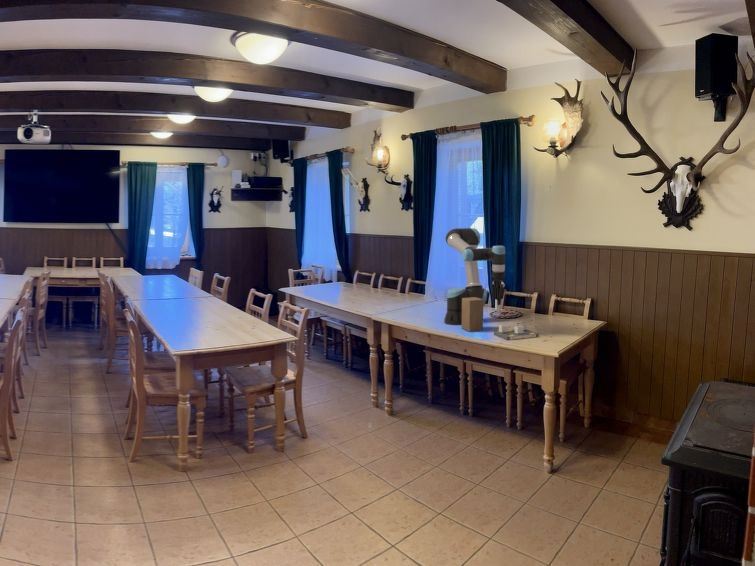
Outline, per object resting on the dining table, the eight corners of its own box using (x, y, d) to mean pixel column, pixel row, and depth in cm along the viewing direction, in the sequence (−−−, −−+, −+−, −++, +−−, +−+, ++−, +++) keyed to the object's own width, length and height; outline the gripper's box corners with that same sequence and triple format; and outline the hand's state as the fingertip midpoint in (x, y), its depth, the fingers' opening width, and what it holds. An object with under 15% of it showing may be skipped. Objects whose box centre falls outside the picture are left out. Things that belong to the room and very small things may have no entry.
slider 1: (498, 331, 310) (499, 324, 309) (504, 330, 311) (504, 324, 310) (501, 332, 307) (501, 325, 306) (507, 331, 308) (507, 325, 308)
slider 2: (514, 332, 306) (514, 325, 306) (520, 331, 308) (520, 325, 307) (517, 333, 304) (517, 326, 303) (523, 333, 305) (523, 326, 304)
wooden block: (461, 328, 329) (461, 298, 326) (474, 327, 332) (475, 296, 329) (469, 332, 320) (469, 300, 317) (483, 330, 323) (483, 299, 320)
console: (493, 334, 312) (493, 331, 311) (524, 331, 319) (524, 328, 319) (507, 340, 298) (507, 336, 298) (538, 336, 306) (538, 333, 305)
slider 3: (518, 329, 314) (518, 322, 314) (524, 328, 316) (524, 322, 315) (521, 330, 312) (521, 323, 311) (527, 329, 313) (527, 323, 312)
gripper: (487, 270, 315) (486, 308, 318) (499, 272, 302) (498, 312, 306) (497, 270, 317) (497, 307, 320) (509, 272, 305) (509, 311, 308)
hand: (497, 309), depth 313 cm, fingers closed
